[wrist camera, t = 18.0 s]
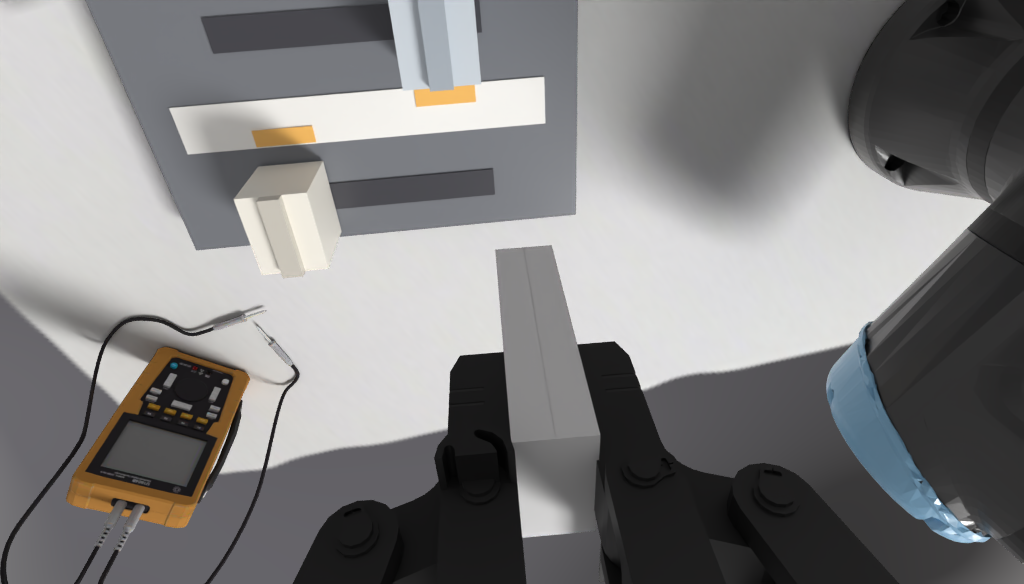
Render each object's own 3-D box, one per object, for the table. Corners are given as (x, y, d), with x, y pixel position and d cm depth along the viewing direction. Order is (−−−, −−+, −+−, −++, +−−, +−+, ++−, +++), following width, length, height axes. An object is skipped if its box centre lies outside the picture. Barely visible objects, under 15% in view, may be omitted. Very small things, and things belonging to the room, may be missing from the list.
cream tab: (322, 160, 35) (304, 197, 30) (341, 231, 37) (327, 274, 33) (258, 166, 34) (230, 204, 30) (281, 236, 37) (259, 280, 33)
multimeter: (325, 328, 45) (255, 565, 29) (284, 406, 50) (203, 650, 33) (128, 255, 40) (-95, 493, 24) (102, 349, 44) (-102, 605, 28)
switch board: (569, -58, 32) (578, -56, 29) (569, 199, 41) (576, 215, 38) (102, -24, 30) (75, -19, 28) (209, 232, 40) (195, 251, 37)
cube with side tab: (468, -37, 29) (472, -27, 25) (477, 63, 32) (481, 87, 28) (393, -31, 29) (382, -21, 25) (408, 69, 32) (402, 93, 28)
